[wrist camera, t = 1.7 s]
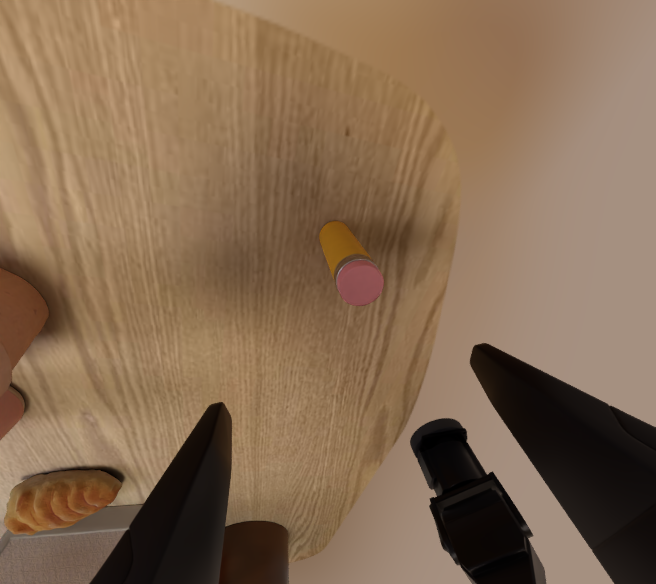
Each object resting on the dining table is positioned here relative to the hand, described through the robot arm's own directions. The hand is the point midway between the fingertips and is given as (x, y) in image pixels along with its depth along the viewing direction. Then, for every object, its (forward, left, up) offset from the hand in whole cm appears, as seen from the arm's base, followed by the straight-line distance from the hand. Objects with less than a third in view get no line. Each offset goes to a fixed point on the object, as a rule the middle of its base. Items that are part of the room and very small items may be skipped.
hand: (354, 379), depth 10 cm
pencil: (-2, -1, -13) cm, 14 cm away
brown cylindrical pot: (+14, +46, -13) cm, 50 cm away
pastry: (+29, +24, -14) cm, 40 cm away
